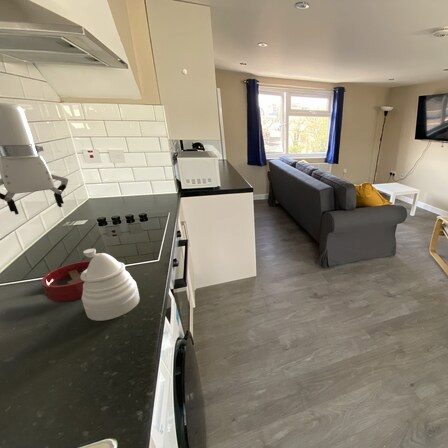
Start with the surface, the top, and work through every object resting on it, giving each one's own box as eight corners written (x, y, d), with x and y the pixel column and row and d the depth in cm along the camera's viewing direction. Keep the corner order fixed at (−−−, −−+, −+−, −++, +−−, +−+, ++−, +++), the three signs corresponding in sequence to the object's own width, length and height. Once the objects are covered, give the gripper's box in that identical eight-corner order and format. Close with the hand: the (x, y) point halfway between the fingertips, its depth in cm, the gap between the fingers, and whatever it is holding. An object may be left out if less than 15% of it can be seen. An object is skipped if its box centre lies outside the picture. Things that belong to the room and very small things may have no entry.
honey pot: (80, 326, 68) (59, 265, 61) (92, 298, 78) (75, 244, 72) (138, 312, 73) (123, 255, 67) (141, 287, 84) (129, 236, 77)
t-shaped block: (65, 281, 85) (62, 273, 84) (84, 275, 89) (81, 267, 87) (73, 295, 78) (69, 286, 77) (93, 288, 82) (90, 279, 81)
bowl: (34, 305, 75) (27, 289, 73) (66, 277, 89) (61, 262, 87) (94, 299, 78) (89, 283, 76) (116, 272, 92) (112, 258, 90)
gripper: (56, 148, 81) (72, 201, 88) (-30, 152, 69) (-4, 213, 75) (61, 150, 77) (78, 206, 83) (-30, 155, 65) (-2, 219, 71)
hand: (39, 209), depth 79 cm, fingers open, 9 cm apart
